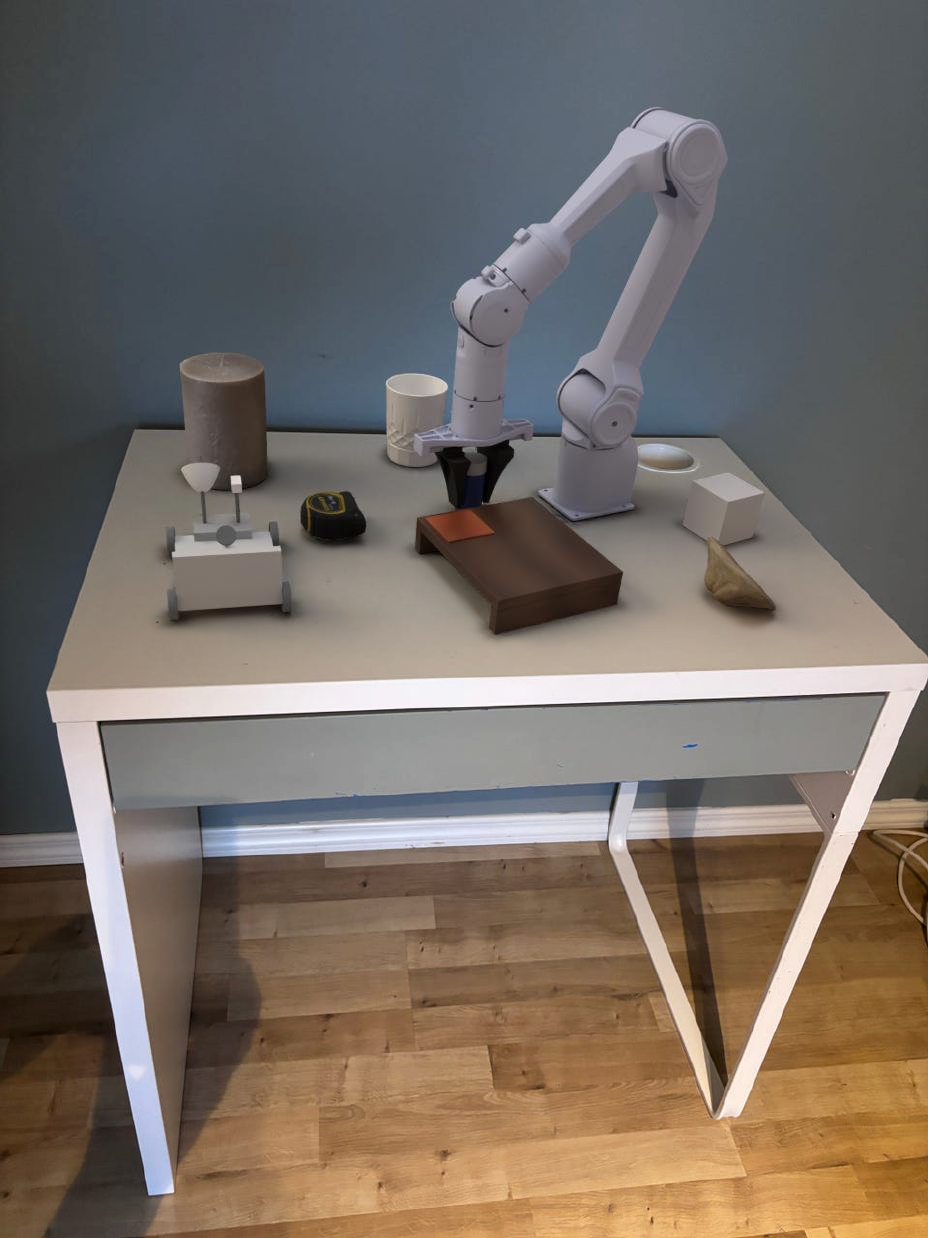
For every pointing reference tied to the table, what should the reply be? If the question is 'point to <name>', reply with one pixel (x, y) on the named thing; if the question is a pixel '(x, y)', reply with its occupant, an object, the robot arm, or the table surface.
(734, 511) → the white cube
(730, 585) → the samosa
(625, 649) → the table surface
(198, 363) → the pillar candle
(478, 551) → the desk shelf
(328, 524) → the tape measure
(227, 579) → the toy car
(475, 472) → the glue stick
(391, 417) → the white cup
